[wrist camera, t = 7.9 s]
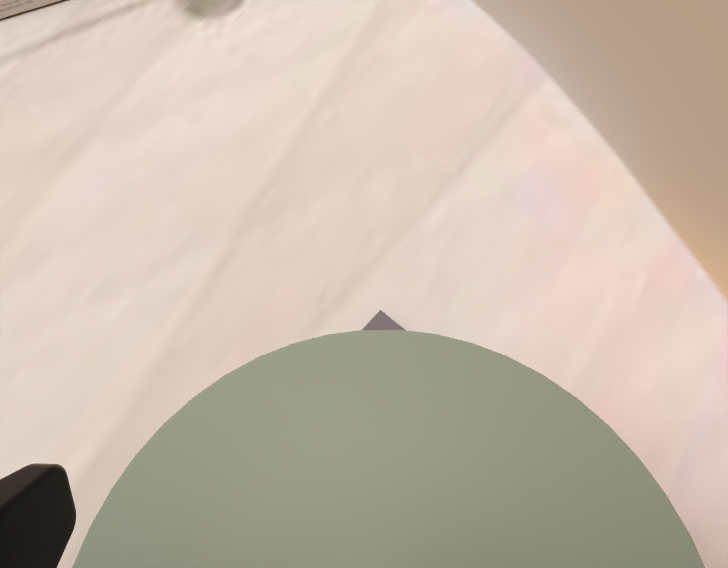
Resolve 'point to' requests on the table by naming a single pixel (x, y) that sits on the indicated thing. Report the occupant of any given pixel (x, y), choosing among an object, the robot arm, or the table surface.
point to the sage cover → (386, 470)
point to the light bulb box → (20, 6)
